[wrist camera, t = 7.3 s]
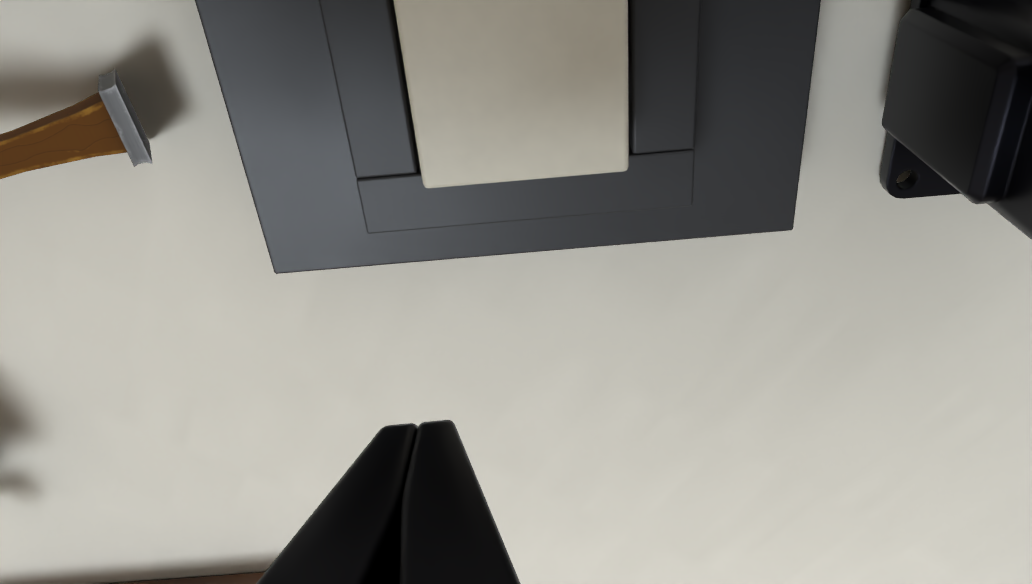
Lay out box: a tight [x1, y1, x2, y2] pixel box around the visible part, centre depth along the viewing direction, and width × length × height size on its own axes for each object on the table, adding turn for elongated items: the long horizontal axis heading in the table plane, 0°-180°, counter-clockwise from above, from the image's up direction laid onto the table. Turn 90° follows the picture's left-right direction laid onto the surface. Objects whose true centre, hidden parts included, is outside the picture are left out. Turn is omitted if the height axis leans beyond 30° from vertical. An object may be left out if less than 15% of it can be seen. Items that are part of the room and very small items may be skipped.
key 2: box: [393, 0, 629, 188], centre depth 13 cm, size 4×4×2 cm
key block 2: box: [195, 0, 821, 274], centre depth 15 cm, size 12×10×4 cm
